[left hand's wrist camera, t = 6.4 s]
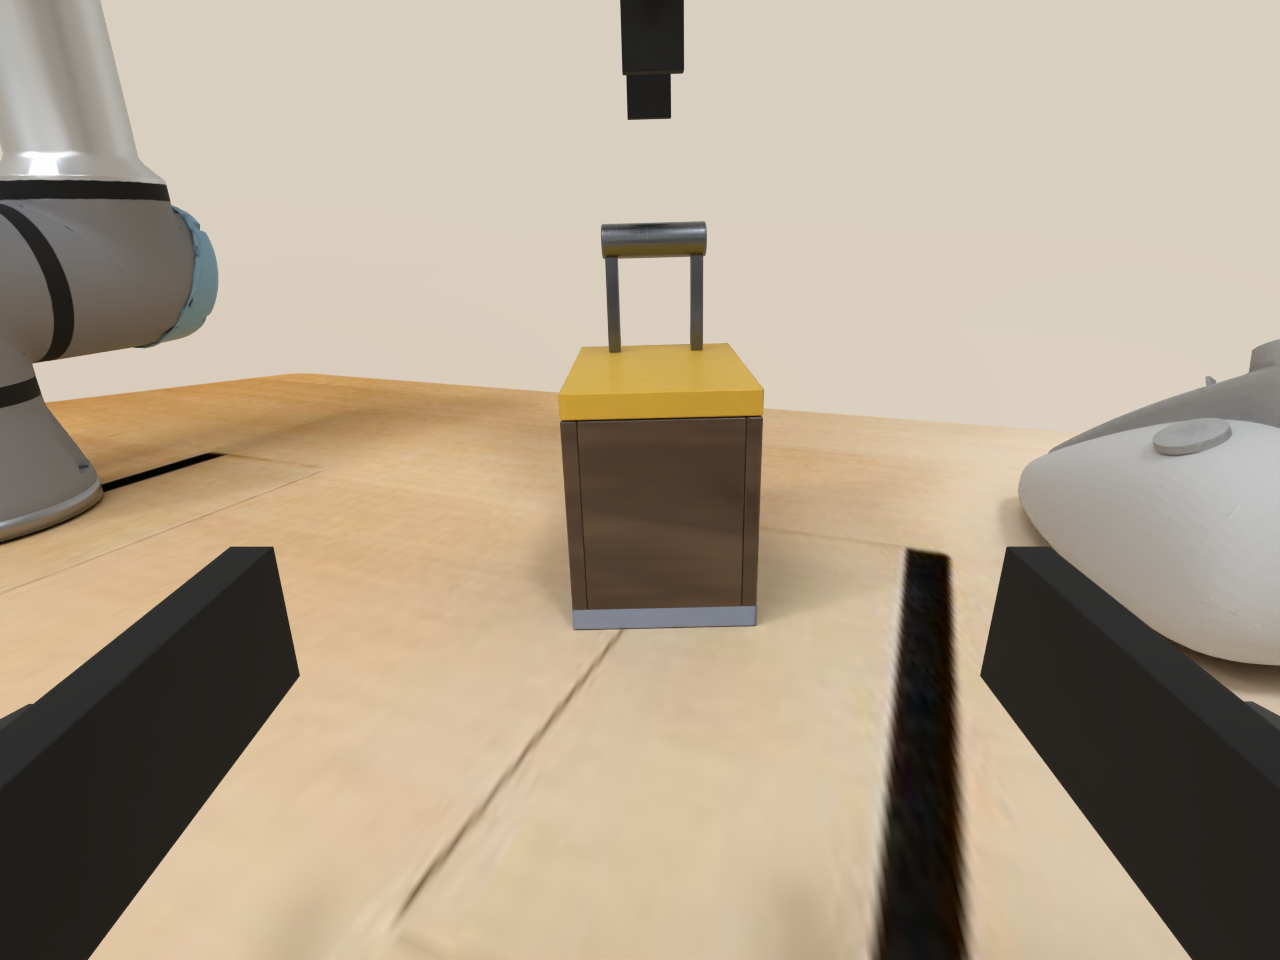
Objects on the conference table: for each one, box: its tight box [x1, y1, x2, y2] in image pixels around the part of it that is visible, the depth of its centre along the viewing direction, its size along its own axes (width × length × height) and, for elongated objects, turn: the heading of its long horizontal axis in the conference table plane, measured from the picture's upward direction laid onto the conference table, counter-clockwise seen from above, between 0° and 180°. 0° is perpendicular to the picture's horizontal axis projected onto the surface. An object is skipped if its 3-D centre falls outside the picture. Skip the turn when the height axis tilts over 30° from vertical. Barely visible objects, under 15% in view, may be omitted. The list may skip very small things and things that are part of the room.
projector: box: [1018, 339, 1280, 665], centre depth 35 cm, size 22×23×15 cm
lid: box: [558, 221, 764, 421], centre depth 37 cm, size 13×9×8 cm
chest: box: [560, 416, 763, 629], centre depth 40 cm, size 13×9×11 cm
